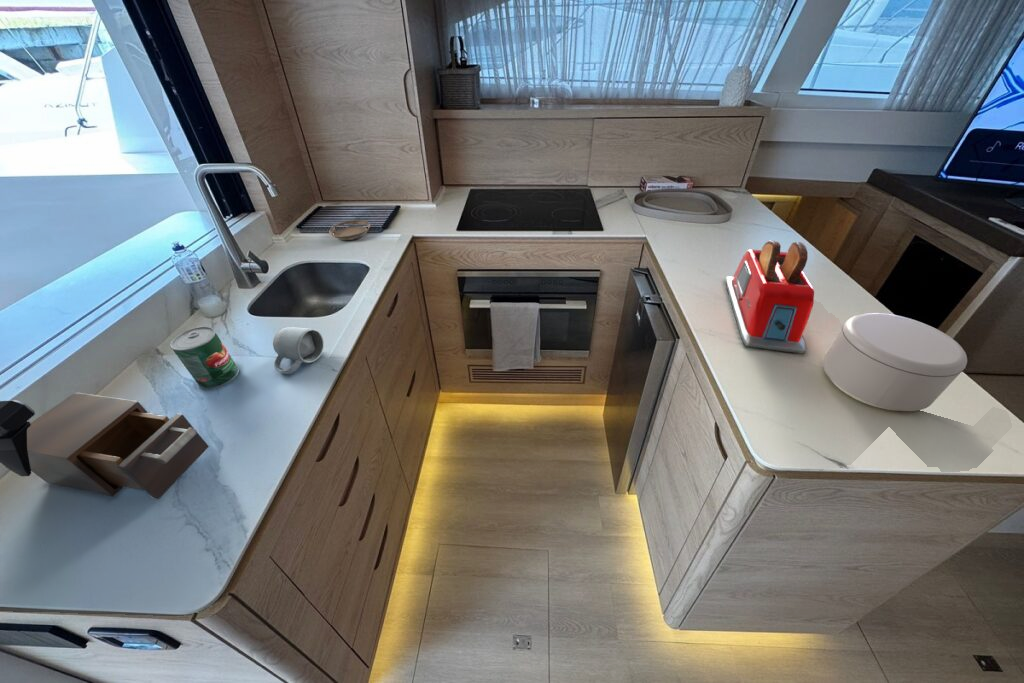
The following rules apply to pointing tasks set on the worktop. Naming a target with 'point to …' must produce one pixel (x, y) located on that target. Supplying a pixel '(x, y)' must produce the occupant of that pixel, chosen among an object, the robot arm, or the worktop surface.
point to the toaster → (772, 297)
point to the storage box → (74, 439)
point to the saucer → (350, 230)
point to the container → (893, 361)
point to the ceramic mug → (297, 347)
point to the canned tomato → (205, 357)
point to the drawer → (145, 452)
